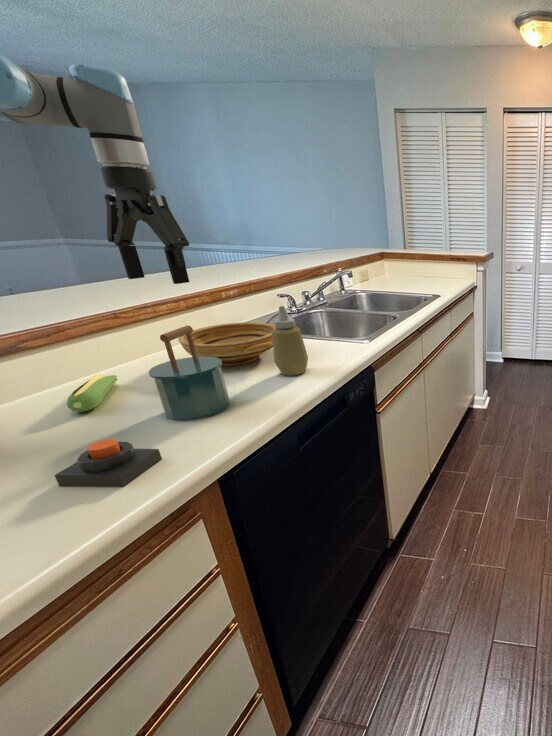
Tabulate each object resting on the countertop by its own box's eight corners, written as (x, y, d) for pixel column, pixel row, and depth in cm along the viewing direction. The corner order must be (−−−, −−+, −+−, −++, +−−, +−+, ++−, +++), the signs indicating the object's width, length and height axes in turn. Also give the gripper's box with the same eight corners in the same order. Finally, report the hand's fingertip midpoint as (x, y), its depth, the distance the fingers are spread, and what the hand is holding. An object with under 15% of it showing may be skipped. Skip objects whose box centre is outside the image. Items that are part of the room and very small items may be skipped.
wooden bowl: (307, 356, 126) (303, 330, 123) (224, 382, 106) (216, 352, 103) (247, 341, 139) (241, 317, 135) (162, 361, 119) (153, 334, 116)
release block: (59, 486, 66) (49, 465, 65) (104, 459, 74) (96, 439, 72) (124, 487, 66) (115, 466, 65) (162, 459, 74) (155, 439, 72)
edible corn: (64, 419, 87) (56, 398, 85) (99, 384, 103) (92, 367, 101) (97, 414, 89) (89, 394, 87) (126, 381, 105) (120, 364, 103)
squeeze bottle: (316, 371, 115) (305, 305, 108) (288, 380, 108) (275, 311, 101) (299, 365, 119) (287, 301, 112) (270, 373, 112) (256, 306, 105)
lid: (134, 381, 83) (118, 337, 79) (179, 361, 94) (167, 321, 91) (197, 382, 83) (185, 338, 80) (235, 362, 94) (225, 322, 91)
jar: (152, 420, 87) (137, 378, 83) (190, 398, 97) (179, 359, 94) (208, 421, 87) (196, 379, 83) (240, 398, 97) (231, 360, 94)
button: (84, 459, 67) (80, 450, 66) (104, 447, 70) (101, 438, 69) (107, 459, 67) (103, 450, 66) (126, 447, 70) (123, 438, 70)
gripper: (192, 168, 79) (219, 282, 88) (106, 169, 87) (138, 274, 95) (149, 164, 73) (182, 287, 81) (59, 165, 80) (98, 278, 88)
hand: (158, 280), depth 88 cm, fingers open, 13 cm apart
